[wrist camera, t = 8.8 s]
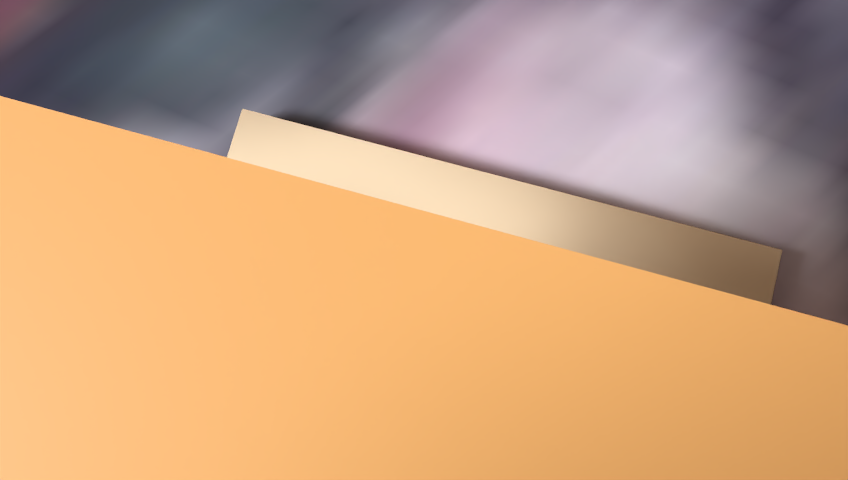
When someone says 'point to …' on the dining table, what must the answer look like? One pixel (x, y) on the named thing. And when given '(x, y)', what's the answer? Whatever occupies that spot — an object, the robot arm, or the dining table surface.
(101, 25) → the dining table surface
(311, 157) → the wooden board
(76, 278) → the block
